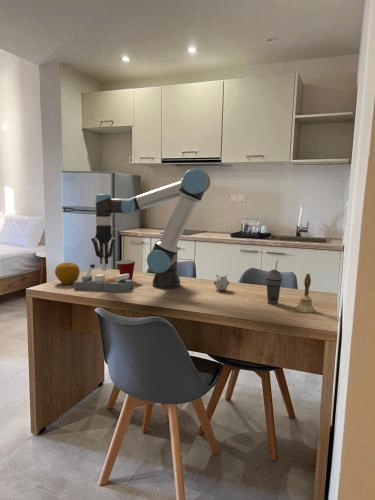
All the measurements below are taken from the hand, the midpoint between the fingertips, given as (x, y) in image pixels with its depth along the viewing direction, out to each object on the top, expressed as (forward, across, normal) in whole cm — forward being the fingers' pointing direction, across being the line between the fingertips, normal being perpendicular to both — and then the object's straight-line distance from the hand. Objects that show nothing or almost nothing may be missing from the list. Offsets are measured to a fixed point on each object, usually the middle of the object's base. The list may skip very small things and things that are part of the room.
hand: (104, 270), depth 187 cm
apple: (+10, +23, -7) cm, 26 cm away
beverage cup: (+9, -85, +13) cm, 86 cm away
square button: (+7, +2, 0) cm, 7 cm away
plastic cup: (+10, -7, -17) cm, 21 cm away
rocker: (+3, -10, 0) cm, 10 cm away
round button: (+8, -4, 0) cm, 9 cm away
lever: (+5, +9, 0) cm, 11 cm away
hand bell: (+9, -98, +21) cm, 100 cm away
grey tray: (+10, 0, 0) cm, 10 cm away
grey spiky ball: (+10, -61, -6) cm, 62 cm away
